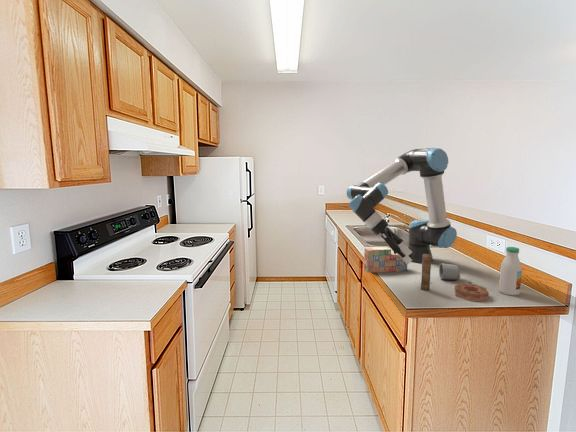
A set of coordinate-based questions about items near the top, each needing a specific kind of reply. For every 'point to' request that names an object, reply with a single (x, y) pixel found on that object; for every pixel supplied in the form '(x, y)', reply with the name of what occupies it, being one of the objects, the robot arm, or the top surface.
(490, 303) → the top surface
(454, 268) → the ceramic mug
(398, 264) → the stack of blocks
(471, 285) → the terracotta faceted ring
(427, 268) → the dowel
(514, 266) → the milk bottle
